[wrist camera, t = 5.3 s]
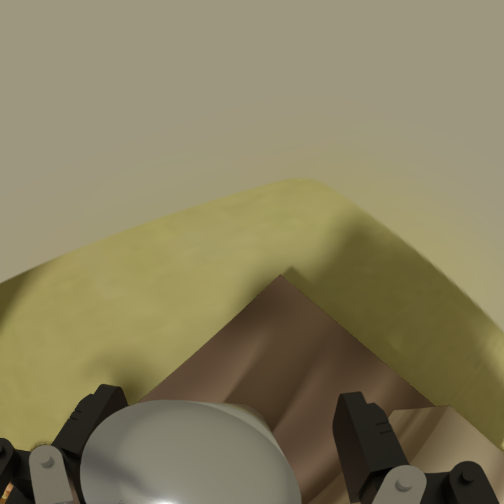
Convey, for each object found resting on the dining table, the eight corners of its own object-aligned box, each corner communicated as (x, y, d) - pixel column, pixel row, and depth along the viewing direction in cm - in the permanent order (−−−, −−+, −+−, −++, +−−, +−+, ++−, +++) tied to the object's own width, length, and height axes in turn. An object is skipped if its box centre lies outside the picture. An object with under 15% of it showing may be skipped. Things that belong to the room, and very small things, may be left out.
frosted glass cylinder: (196, 428, 14) (48, 464, 3) (237, 392, 15) (182, 354, 4) (237, 467, 13) (189, 600, 1) (280, 430, 14) (349, 499, 3)
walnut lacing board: (95, 444, 14) (84, 445, 13) (278, 283, 20) (280, 274, 19) (350, 617, 4) (354, 625, 3) (497, 468, 10) (508, 468, 9)
